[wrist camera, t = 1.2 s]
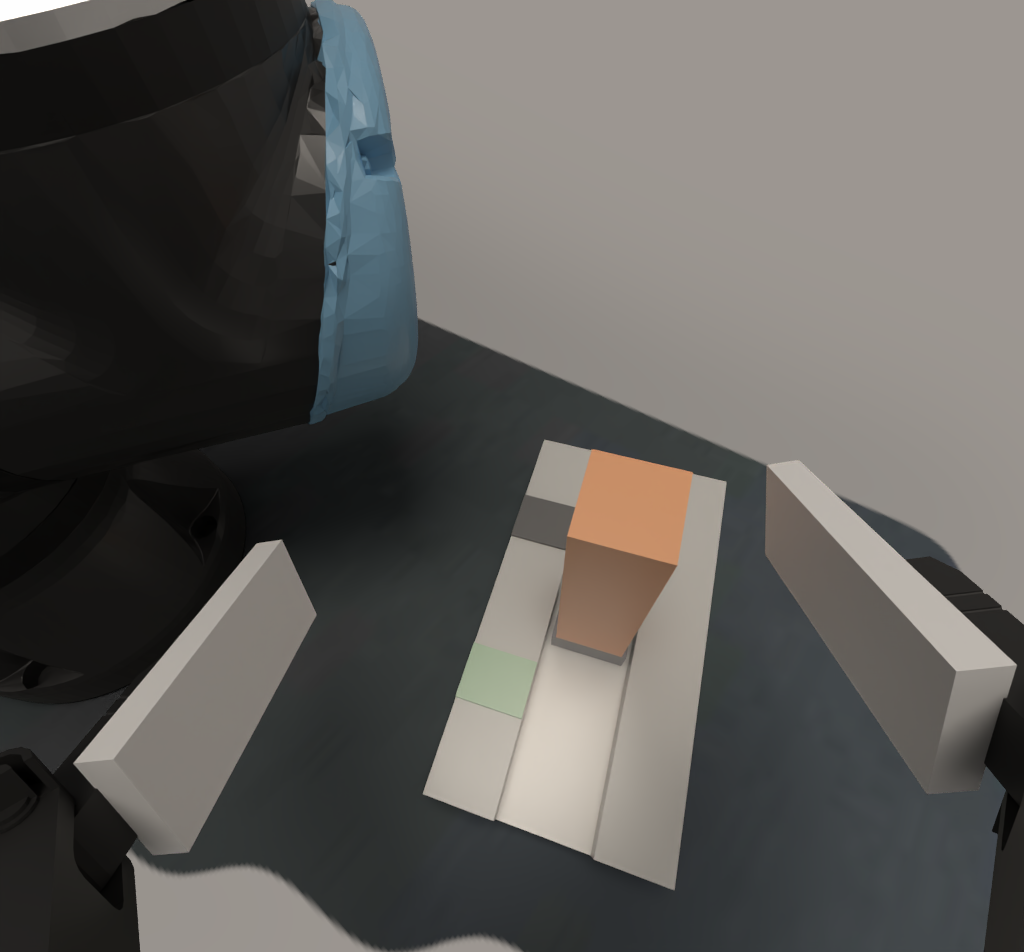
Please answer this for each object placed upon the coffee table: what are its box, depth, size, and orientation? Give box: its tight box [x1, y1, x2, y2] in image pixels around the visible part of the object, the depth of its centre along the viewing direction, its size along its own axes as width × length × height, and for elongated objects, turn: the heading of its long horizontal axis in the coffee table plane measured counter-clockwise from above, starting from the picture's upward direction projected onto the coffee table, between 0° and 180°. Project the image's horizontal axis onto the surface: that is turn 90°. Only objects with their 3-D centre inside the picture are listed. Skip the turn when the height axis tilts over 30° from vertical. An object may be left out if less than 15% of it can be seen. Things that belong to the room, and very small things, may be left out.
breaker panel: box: [423, 440, 726, 891], centre depth 26 cm, size 18×10×3 cm, turn 163°
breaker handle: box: [551, 449, 693, 666], centre depth 20 cm, size 3×3×13 cm
